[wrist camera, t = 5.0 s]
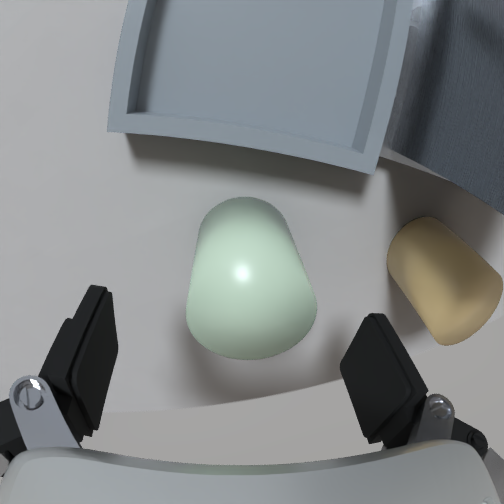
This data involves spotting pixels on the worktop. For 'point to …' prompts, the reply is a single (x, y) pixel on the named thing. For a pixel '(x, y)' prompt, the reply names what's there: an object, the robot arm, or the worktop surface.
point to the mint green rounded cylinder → (248, 283)
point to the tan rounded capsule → (443, 279)
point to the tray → (263, 74)
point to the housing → (453, 96)
